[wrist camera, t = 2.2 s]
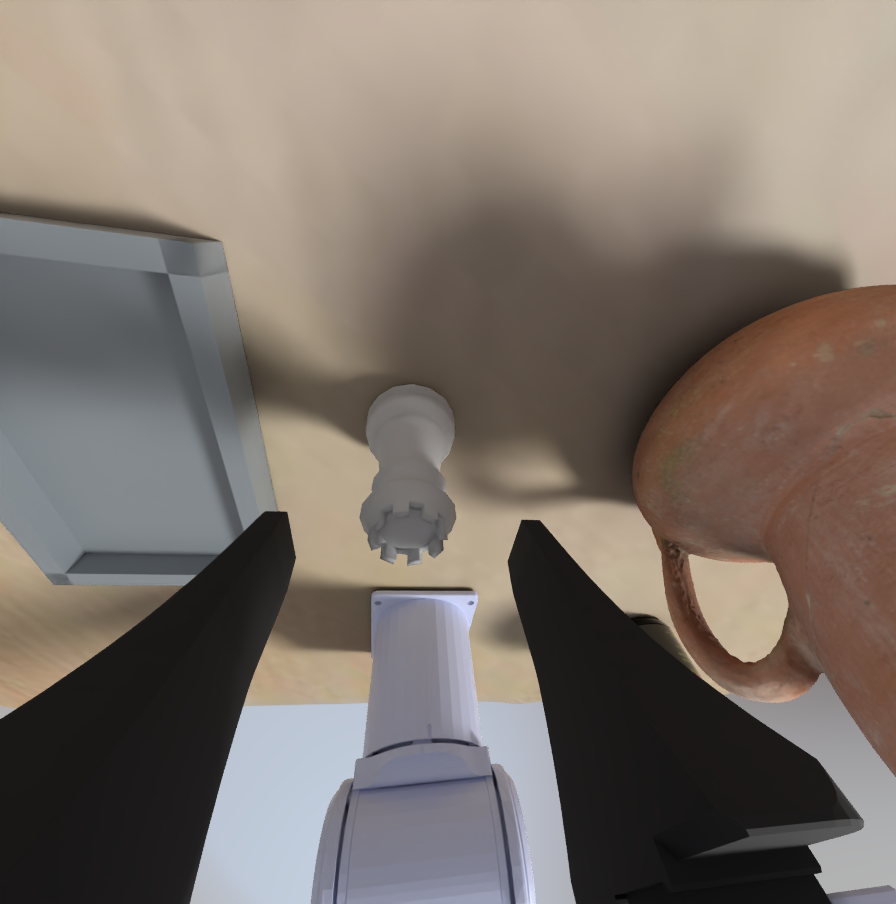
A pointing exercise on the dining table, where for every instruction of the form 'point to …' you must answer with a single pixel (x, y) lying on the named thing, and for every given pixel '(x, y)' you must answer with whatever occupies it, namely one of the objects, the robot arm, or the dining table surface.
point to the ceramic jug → (789, 497)
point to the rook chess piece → (409, 473)
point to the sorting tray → (123, 404)
